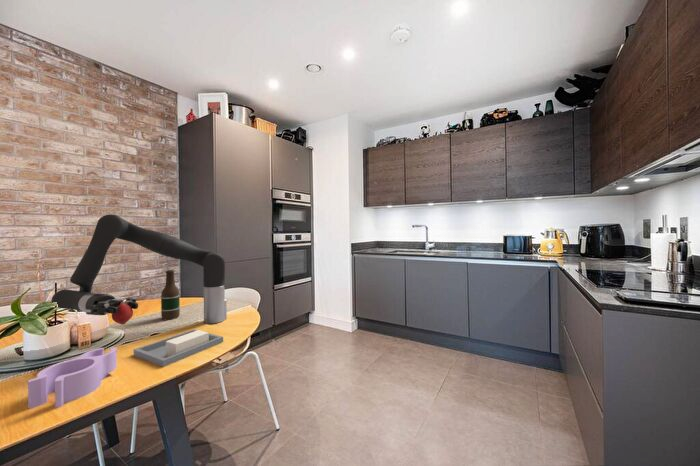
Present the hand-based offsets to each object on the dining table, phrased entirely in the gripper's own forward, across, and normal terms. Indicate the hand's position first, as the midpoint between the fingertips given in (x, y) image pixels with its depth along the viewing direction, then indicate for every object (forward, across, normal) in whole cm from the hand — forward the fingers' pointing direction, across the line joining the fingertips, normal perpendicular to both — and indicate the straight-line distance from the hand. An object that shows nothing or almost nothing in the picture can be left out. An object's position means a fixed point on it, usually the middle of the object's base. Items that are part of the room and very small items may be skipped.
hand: (127, 308), depth 98 cm
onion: (-2, 0, +6) cm, 7 cm away
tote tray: (+13, +10, +17) cm, 24 cm away
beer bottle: (-27, +36, +18) cm, 49 cm away
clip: (+7, -17, +18) cm, 25 cm away
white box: (+17, +10, +16) cm, 25 cm away
